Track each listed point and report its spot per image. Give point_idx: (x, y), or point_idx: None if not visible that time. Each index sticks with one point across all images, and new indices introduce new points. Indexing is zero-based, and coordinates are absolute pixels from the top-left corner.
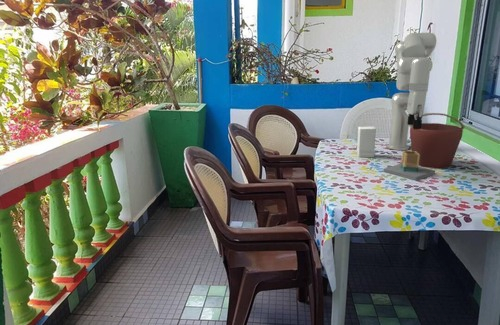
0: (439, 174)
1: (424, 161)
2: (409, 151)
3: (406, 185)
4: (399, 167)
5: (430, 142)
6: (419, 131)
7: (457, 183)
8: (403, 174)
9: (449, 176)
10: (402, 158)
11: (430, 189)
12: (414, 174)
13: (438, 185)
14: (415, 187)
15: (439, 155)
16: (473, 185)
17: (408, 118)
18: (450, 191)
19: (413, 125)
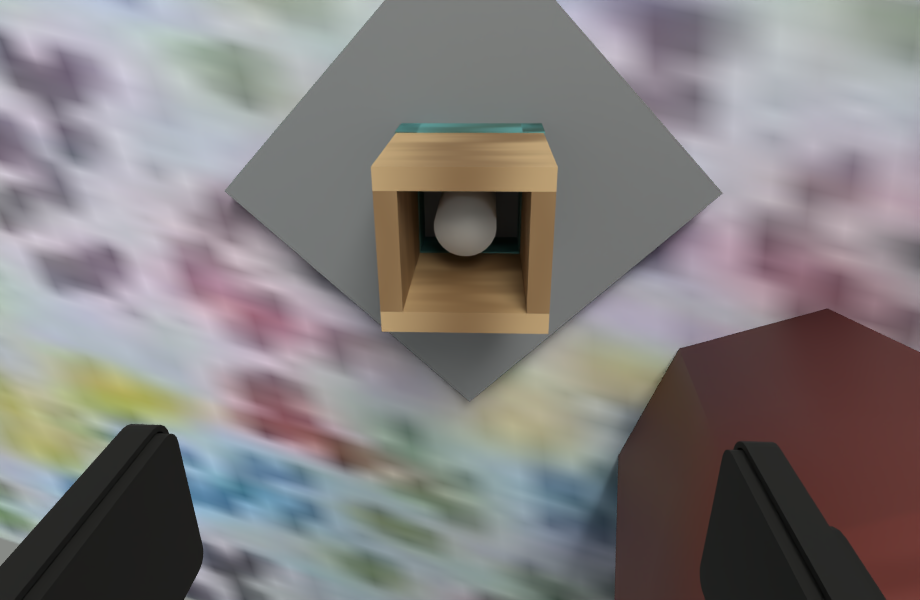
0: (455, 412)
1: (677, 387)
2: (530, 251)
3: (62, 65)
4: (538, 110)
5: (684, 559)
6: (881, 570)
7: (250, 455)
8: (303, 97)
9: (413, 459)
10: (511, 146)
11: (33, 238)
12: (308, 200)
13: (159, 323)
14: (36, 132)
15: (627, 530)
16: (234, 525)
17: (822, 588)
18: (45, 359)
19: (89, 475)
